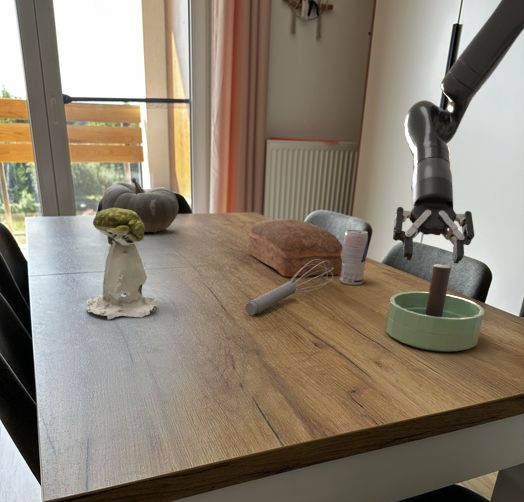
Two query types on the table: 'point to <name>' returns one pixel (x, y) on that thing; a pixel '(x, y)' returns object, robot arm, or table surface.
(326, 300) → the table surface
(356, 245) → the energy drink
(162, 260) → the table surface
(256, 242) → the bread
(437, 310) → the pestle
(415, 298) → the bowl
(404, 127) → the robot arm
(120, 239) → the mushroom
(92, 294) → the table surface
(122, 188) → the gourd
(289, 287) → the kitchen whisk
